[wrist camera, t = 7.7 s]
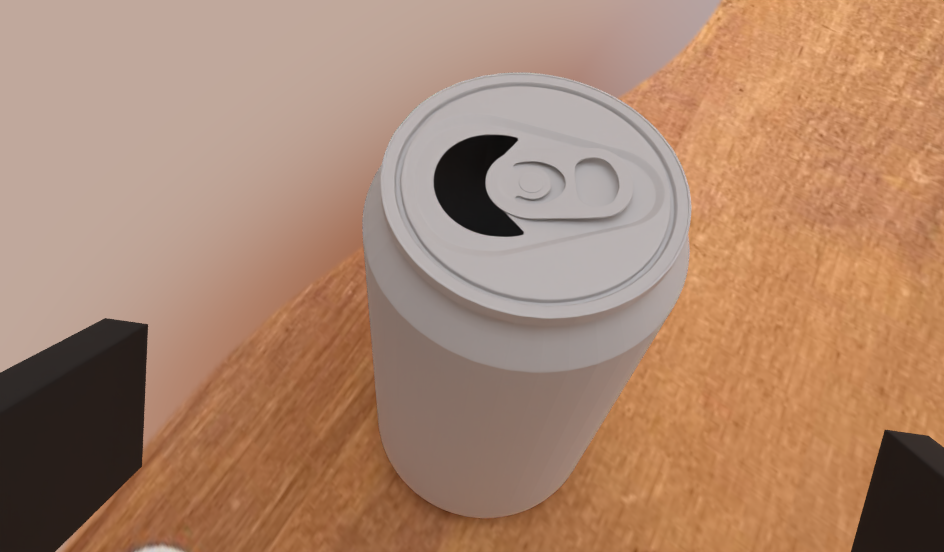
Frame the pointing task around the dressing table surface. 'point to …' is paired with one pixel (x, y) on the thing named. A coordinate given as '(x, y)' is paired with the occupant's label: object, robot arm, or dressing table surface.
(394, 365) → the beverage can
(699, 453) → the dressing table surface
